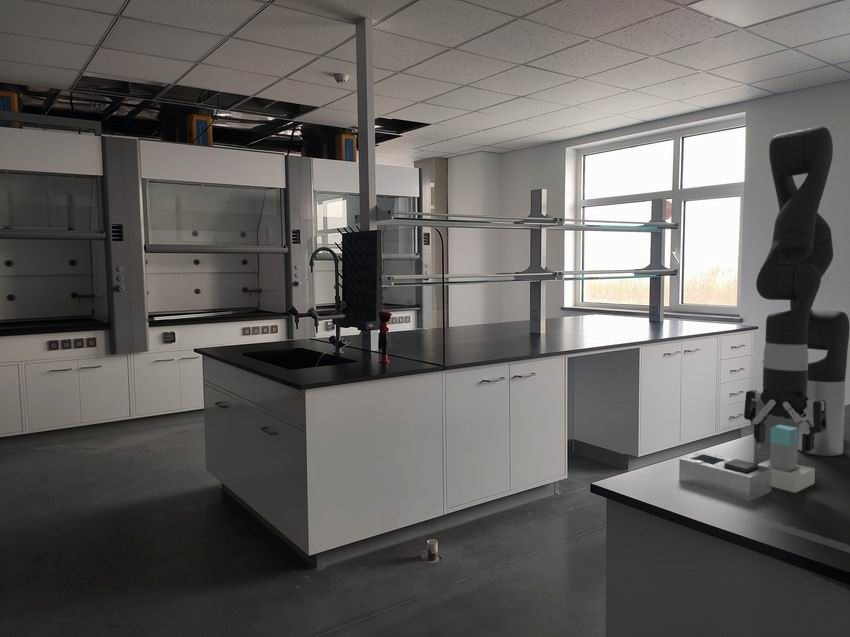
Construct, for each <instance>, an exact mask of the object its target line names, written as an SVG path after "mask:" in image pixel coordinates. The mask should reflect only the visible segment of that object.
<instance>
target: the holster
mask: <svg viewBox="0 0 850 637" xmlns="http://www.w3.org/2000/svg"><path fill="white" fill-rule="evenodd" d="M758 465H759V466H763V467H767V468H770V460H767V461H765V462H762V463H760V464H758ZM771 469H772V471H771V488H772V487H773V488H777V489H780V490H782V491H783V490H784V491H788V492H791V493H798V492H800V491H802V490H804V489H806V488H808V487H810V486H812V485H814V484H815V482H816V481H815V475H816V473H815V472H816V471H815V470H816V469H815V468H814V467H811V466H810V467H809V466H806V465H801V464H798V463H797V470H795V471H793V472H791V473H789V472H785V471H781V470H777V469H773V468H771Z"/></svg>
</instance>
